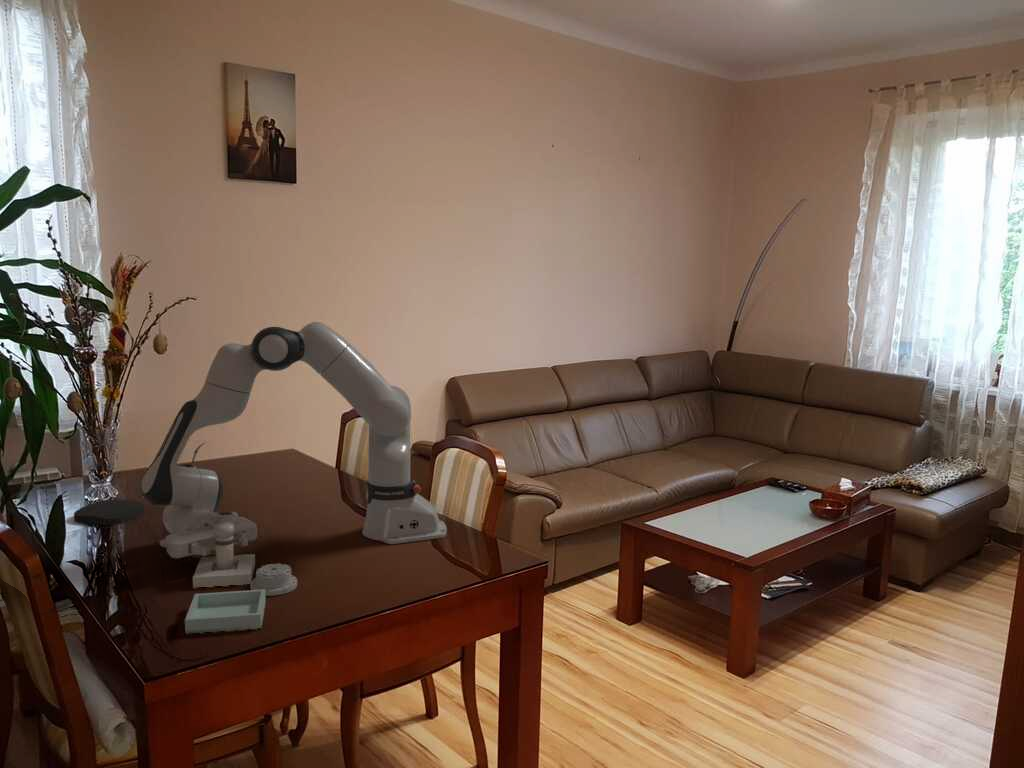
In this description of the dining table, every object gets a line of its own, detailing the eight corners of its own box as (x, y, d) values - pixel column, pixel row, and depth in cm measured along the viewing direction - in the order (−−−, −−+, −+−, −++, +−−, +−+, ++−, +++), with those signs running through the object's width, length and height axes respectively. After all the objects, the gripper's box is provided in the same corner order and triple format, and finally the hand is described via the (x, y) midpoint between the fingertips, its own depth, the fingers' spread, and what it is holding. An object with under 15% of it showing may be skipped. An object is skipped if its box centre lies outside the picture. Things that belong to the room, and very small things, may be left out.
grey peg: (236, 571, 181) (235, 522, 179) (234, 579, 176) (232, 528, 174) (216, 572, 180) (214, 522, 178) (213, 580, 175) (212, 529, 173)
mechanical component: (284, 575, 180) (242, 586, 173) (283, 556, 179) (242, 567, 172) (305, 588, 173) (263, 601, 166) (305, 570, 172) (262, 581, 165)
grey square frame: (255, 564, 185) (254, 554, 185) (250, 584, 174) (250, 574, 173) (201, 567, 182) (201, 557, 182) (193, 588, 171) (192, 577, 170)
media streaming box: (115, 528, 207) (114, 517, 207) (67, 523, 210) (66, 512, 210) (150, 511, 222) (150, 501, 221) (105, 506, 224) (105, 496, 224)
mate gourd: (169, 493, 237) (167, 445, 235) (187, 486, 245) (185, 440, 242) (189, 496, 235) (187, 447, 233) (207, 489, 243) (205, 442, 240)
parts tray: (265, 602, 165) (265, 589, 164) (261, 628, 153) (260, 614, 153) (195, 607, 162) (194, 593, 161) (185, 634, 150) (184, 620, 150)
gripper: (155, 528, 178) (179, 545, 169) (241, 510, 193) (267, 524, 183) (157, 554, 179) (180, 572, 170) (242, 534, 194) (268, 550, 184)
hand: (226, 547), depth 176 cm, fingers open, 7 cm apart
